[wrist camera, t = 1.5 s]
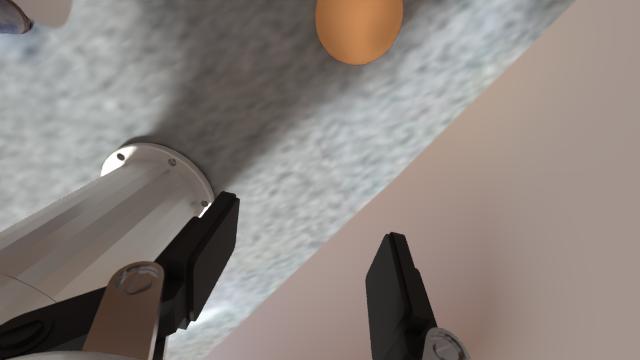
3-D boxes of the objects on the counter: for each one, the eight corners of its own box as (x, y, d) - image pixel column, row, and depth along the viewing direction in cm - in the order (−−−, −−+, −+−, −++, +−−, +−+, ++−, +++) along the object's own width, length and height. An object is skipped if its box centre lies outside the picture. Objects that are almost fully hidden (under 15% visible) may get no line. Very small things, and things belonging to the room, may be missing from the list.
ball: (362, 76, 23) (367, 87, 17) (304, 32, 21) (292, 29, 16) (411, 8, 20) (435, -4, 15) (349, -46, 19) (350, -81, 14)
